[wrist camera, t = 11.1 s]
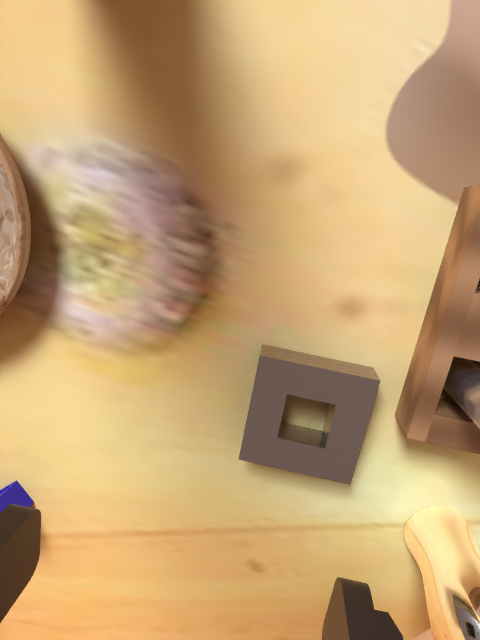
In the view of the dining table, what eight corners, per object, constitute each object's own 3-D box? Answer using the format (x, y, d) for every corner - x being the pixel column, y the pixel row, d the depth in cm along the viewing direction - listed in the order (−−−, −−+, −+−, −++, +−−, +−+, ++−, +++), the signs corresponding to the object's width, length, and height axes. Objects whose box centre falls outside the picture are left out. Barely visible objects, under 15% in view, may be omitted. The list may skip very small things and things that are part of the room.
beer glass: (383, 535, 41) (434, 708, 27) (434, 488, 39) (518, 646, 25) (438, 575, 42) (518, 767, 27) (491, 530, 40) (606, 711, 25)
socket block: (262, 344, 38) (260, 355, 35) (373, 367, 37) (380, 380, 34) (242, 441, 40) (238, 459, 38) (345, 465, 40) (350, 484, 37)
